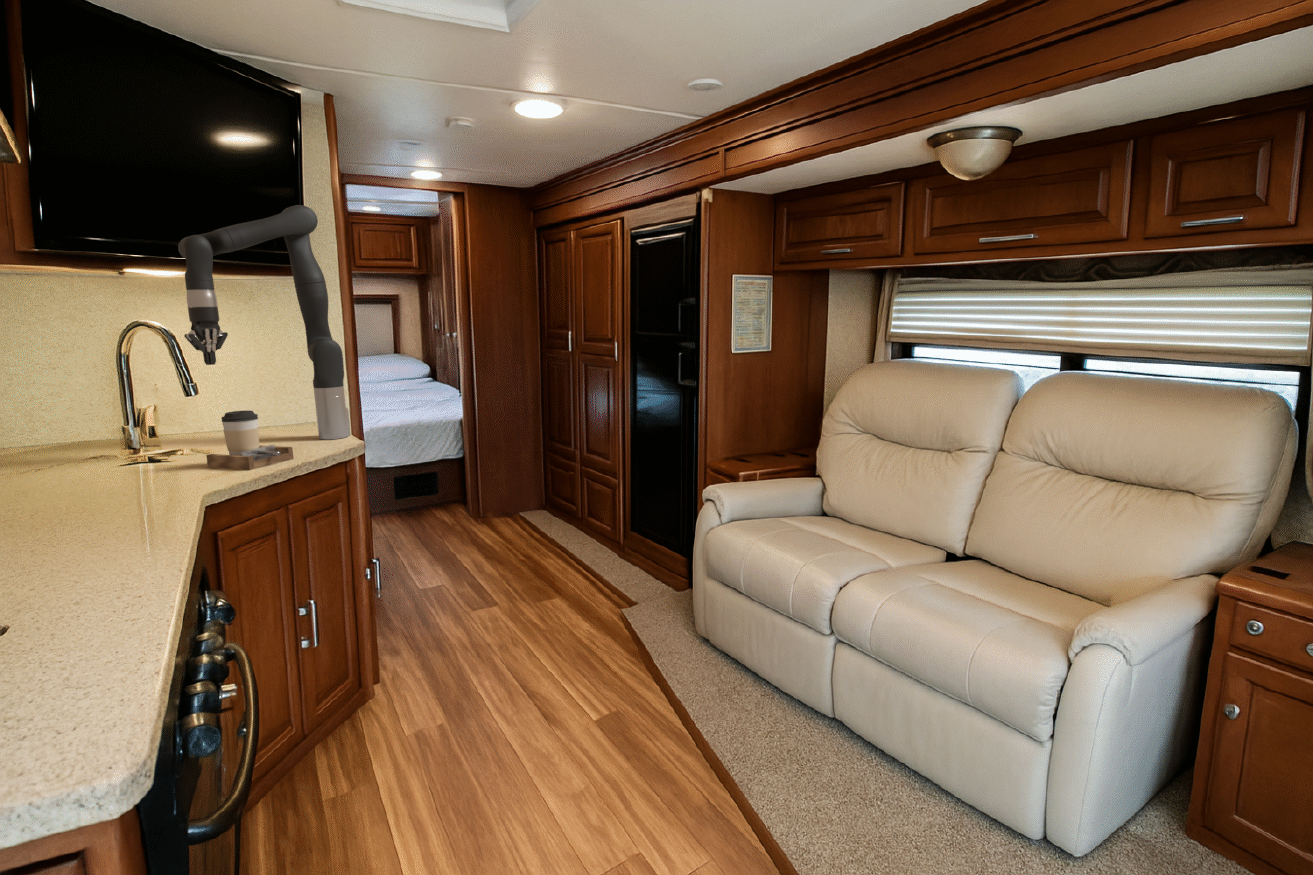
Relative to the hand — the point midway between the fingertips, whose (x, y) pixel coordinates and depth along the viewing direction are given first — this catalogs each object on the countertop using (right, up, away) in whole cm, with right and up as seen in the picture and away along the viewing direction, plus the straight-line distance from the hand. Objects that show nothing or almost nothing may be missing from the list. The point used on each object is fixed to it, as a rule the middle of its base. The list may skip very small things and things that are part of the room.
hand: (210, 364), depth 213 cm
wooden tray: (+19, -29, -12) cm, 37 cm away
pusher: (+24, -29, -13) cm, 40 cm away
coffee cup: (+17, -29, -11) cm, 36 cm away
